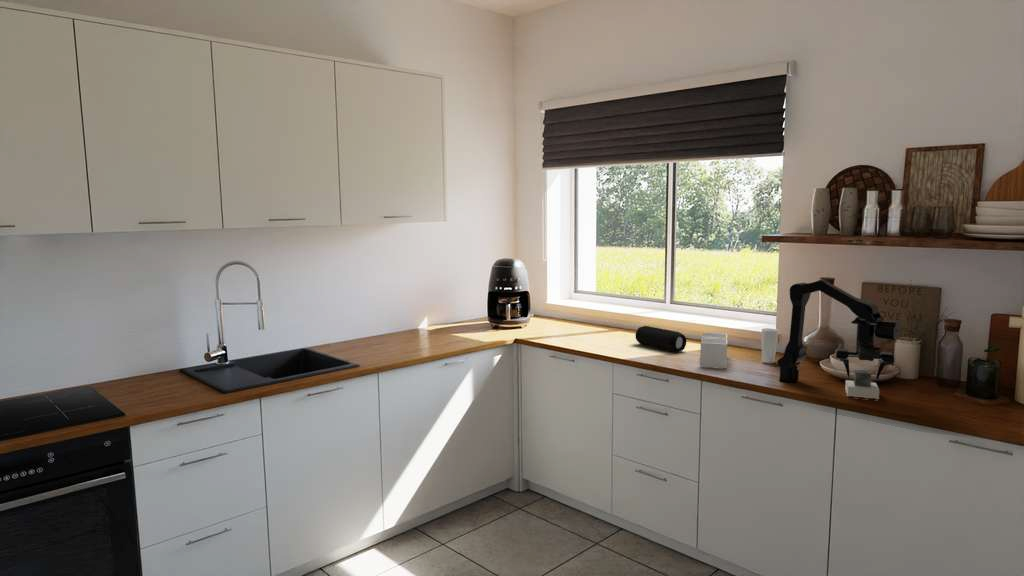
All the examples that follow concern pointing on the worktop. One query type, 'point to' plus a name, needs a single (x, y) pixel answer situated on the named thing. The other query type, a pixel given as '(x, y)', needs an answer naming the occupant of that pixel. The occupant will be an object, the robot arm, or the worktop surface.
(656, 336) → the portable speaker
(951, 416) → the worktop surface
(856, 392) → the cream base block
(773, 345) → the white tumbler
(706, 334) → the storage container
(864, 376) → the charcoal cube
